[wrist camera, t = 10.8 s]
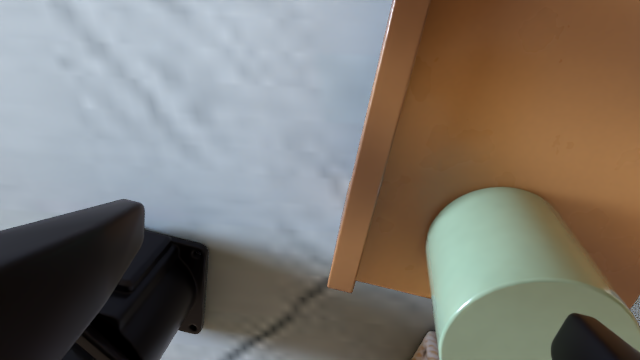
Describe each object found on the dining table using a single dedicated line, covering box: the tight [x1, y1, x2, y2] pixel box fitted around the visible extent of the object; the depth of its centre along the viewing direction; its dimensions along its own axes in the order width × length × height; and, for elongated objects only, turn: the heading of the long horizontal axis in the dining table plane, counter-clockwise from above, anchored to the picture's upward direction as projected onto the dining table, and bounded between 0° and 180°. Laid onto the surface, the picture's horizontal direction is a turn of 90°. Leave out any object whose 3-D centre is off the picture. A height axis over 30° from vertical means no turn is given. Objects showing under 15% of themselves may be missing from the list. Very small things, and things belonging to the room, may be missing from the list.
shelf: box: [327, 0, 640, 309], centre depth 14 cm, size 20×11×6 cm, turn 170°
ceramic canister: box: [425, 187, 640, 360], centre depth 13 cm, size 5×5×5 cm
